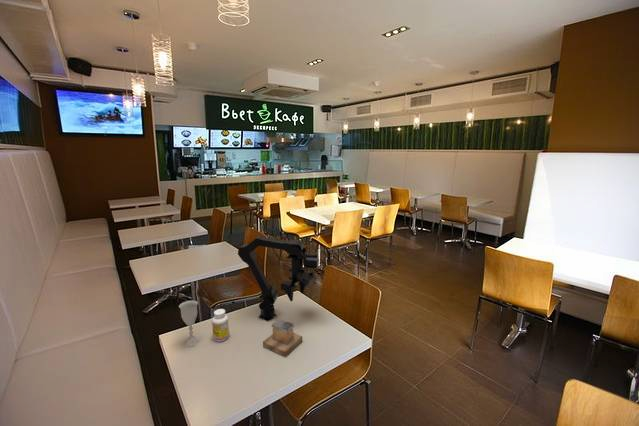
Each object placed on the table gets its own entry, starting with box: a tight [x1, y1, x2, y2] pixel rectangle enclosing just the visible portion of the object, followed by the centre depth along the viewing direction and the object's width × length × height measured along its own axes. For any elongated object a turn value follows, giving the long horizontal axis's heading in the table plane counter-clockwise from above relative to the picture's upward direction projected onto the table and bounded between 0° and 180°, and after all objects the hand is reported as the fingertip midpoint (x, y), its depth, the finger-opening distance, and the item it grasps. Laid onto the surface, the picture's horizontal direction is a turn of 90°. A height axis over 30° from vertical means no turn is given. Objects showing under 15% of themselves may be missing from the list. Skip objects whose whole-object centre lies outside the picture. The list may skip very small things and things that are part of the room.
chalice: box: [178, 300, 199, 347], centre depth 126 cm, size 7×7×18 cm
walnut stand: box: [262, 332, 303, 358], centre depth 127 cm, size 12×12×2 cm
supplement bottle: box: [211, 308, 230, 343], centre depth 130 cm, size 7×7×13 cm
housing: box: [271, 318, 295, 345], centre depth 126 cm, size 5×8×7 cm, turn 59°
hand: (297, 296), depth 144 cm, fingers open, 9 cm apart
